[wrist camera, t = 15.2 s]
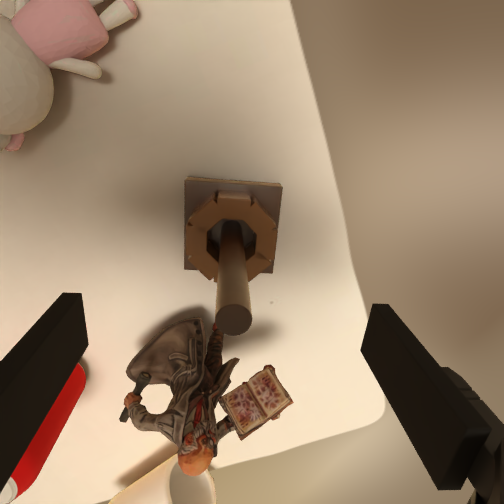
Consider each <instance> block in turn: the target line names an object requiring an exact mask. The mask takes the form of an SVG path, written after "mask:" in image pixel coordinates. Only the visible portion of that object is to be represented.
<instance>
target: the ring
mask: <svg viewBox="0 0 504 504" xmlns="http://www.w3.org/2000/svg"><path fill="white" fill-rule="evenodd" d="M222 219H234V220H244V221H245V222H246V224H247V225H248V226H249V227H250V228H251V229H252V230H253V241H252V242H251V243H249V244H248V245H247V246H246V247H244V251H245V259H246V268H247V277H248V282H249V281H251V280H252V279H253V278H254V277H256V276H257V275H258V274H260V273H261V272H262V271H263V270H265V269H266V268H267V267H268V266H270V265H271V264H272V263H271V260H274V259H275V250H276V242H277V233H278V230H277V228H276V224H275V222H274V220H273V217H272V215H271V214H270V213H269V211H268V210H267V209H266V208H265V207H264V206H263V204H262V203H261V202H260V201H259V200H258V199H257V198H256V196H255V195H254V194H252V195H251V196H250V195H249V192H248V191H234V190H218V195H217V193H216V192H212V193H211V194H210V195H209V196H208V197H207V198H206V199H204V200H203V201H202V202H201V203H200V204H199V205H198V206H197V207H195V208H194V209H193V210H192V213H191V215H190V217H189V220H188V222H187V225H186V255H189V258H188V260H189V261H190V262H191V263H192V264H193V265H194V266H195V267H196V268H197V269H198V270H199V271H200V272H201V273H202V274H203V275H204V276H205V277H206V278H207V279H208V280H211V279H212V278H213V277H214V282H217V281H218V267H219V252H220V249H219V248H218V247H217V246H216V245H215V244H214V243H213V242H212V241H211V240H210V239H209V230H210V229H211V228H212V227H214V226H215V225H216V224H217V223H218V222H219V221H221V220H222Z"/></svg>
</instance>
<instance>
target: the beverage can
mask: <svg viewBox="0 0 504 504" xmlns="http://www.w3.org/2000/svg"><path fill="white" fill-rule="evenodd" d="M85 385H86V375H85V372H84V369H83V368H82V366H81V365H80V364H79V363H78V364H77V365H76V367H75V369H74V370H73V372H72V374H71V375H70V377H69V379H68V380H67V382H66V384H65V385H64V387H63V389H62V391H61V392H60V394H59V396H58V397H57V399H56V401H55V402H54V404H53V406H52V407H51V409H50V411H49V412H48V414H47V416H46V418H45V419H44V421H43V423H42V424H41V426H40V428H39V429H38V431H37V433H36V434H35V436H34V438H33V439H32V441H31V443H30V445H29V446H28V448H27V450H26V451H25V453H24V455H23V456H22V458H21V460H20V461H19V463H18V465H17V466H16V468H15V470H14V472H13V473H12V475H11V477H10V478H9V480H8V482H7V483H6V485H5V487H4V488H3V490H2V492H1V493H0V504H9V503H10V502H12V501H13V500H14V499H16V498H17V497H18V496H19V495H21V494H22V493H23V492H25V491H26V490H27V489H28V488H29V487H30V486H31V485H32V484H33V482H34V481H35V480H36V478H37V476H38V475H39V473H40V471H41V469H42V467H43V465H44V463H45V461H46V460H47V458H48V456H49V454H50V452H51V450H52V448H53V446H54V444H55V443H56V441H57V439H58V437H59V435H60V433H61V431H62V429H63V427H64V426H65V424H66V422H67V420H68V418H69V416H70V414H71V412H72V410H73V409H74V407H75V405H76V403H77V401H78V399H79V397H80V395H81V394H82V392H83V390H84V388H85Z"/></svg>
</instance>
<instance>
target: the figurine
mask: <svg viewBox="0 0 504 504" xmlns="http://www.w3.org/2000/svg"><path fill="white" fill-rule="evenodd" d="M212 330H213V333H212V335H211V336H210V339H209V342H208V345H207V354H206V335H205V329H204V324H203V321H202V319H201V318H200V317H196V318H190V319H185V320H182V321H179V322H177V323H175V324H172V325H170V326H168V327H166V328H164V329H163V330H162V331H161V332H159V333H158V334H157V335H156V336H155V337H154V338H153V339H152V340H151V341H150V342H149V343H148V344H147V345H146V346H145V347H144V348H143V349H142V350H140V351H139V353H138V354H137V355H136V356H135V357H134V358H133V359H132V361H131V362H130V364H129V365H128V367H127V370H126V374H127V376H128V377H129V378H130V379H131V380H132V381H134V382H135V383H136V387H135V389H134V391H133V392H130V393H128V394H127V396H126V397H125V399H124V405H125V408H124V410H123V412H122V414H121V416H120V418H119V419H120V422H126V421H127V420H128V418H129V417H130V418H131V420H132V423H133V425H134V426H135V427H136V428H137V429H138V430H141V431H157V432H161V433H162V434H163V435H165V436H166V437H167V438H168V439H169V440H170V441H172V442H173V443H175V444H176V445H177V446H178V447H179V451H178V453H177V454H178V464H179V466H180V468H181V470H182V471H183V473H185V474H187V475H189V476H197V475H200V474H202V473H203V472H204V471H205V470H206V469H207V468H208V466H209V464H210V462H211V460H212V458H213V457H216V456H217V444H218V442H219V440H220V439H221V438H222V437H224V436H225V435H226V434H227V433H229V432H231V431H234V430H236V432H237V434H238V436H239V438H240V440H243V439H244V438H246V437H247V436H248V435H250V434H251V433H252V432H254V431H255V430H257V429H258V428H260V427H261V426H262V425H263V424H265V423H266V422H267V421H269V420H270V419H272V420H275V419H278V418H279V416H280V413H281V412H282V411H283V410H284V409H285V408H286V407H287V406H289V405H290V404H292V403H294V402H293V401H292V399H291V397H290V396H289V394H288V392H287V391H286V390H285V389H284V387H283V386H282V385H281V383H280V382H279V380H278V378H277V376H276V374H275V368H274V367H273V366H272V365H265V366H264V369H263V370H262V371H260V372H258V373H256V374H255V375H254V376H253V377H251V378H250V379H249V381H248V382H243V383H242V385H240V386H238V387H237V388H235V389H234V390H233V391H231V392H229V393H227V394H226V395H224V396H222V395H223V393H224V392H225V391H226V389H227V388H228V386H229V384H230V383H231V380H230V375H231V372H232V370H233V368H234V366H235V365H236V364H237V363H238V362H239V360H240V359H238V358H233V359H230V360H229V361H228V362H226V363H225V364H223V365H222V355H221V352H222V347H223V337H224V333H222V332H221V331H220V330H219V329H218V328H217V326H216V324H215V323H214V325H213V328H212ZM148 384H166V385H168V386H170V388H171V391H172V393H173V398H172V400H171V402H170V403H169V406H168V408H167V410H166V411H165V412H164V413H162V414H150V413H149V412H148V411H147V410H146V407H145V406H143V405H141V404H140V402H141V400H142V397H141V395H140V394H141V392H142V390H143V389H144V388H145V387H146V386H147V385H148ZM218 401H219V403H220V405H221V406H222V408H223V409H224V411H225V412H226V413H227V414H228V415H227V416H226V417H225V418H224V419H223V420H221V421H219V422H218V423H217V424H216V419H215V413H214V409H215V407H216V405H217V403H218Z"/></svg>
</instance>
